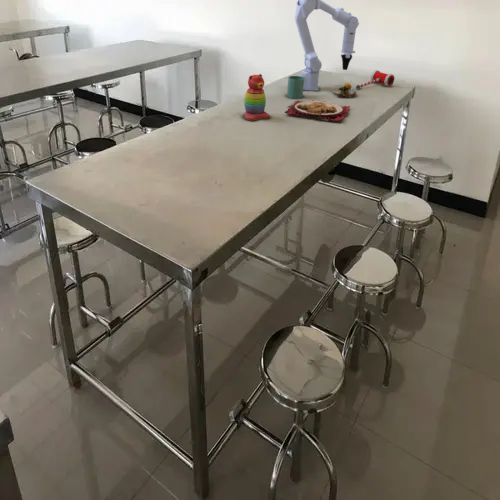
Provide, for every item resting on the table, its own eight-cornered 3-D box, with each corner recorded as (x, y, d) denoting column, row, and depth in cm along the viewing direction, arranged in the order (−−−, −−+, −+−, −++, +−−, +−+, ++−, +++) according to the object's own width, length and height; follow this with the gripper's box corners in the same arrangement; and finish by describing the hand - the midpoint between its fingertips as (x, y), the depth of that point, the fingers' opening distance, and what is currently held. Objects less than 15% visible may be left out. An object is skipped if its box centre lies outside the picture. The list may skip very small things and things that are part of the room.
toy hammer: (365, 92, 253) (367, 79, 249) (348, 86, 261) (350, 74, 257) (393, 85, 265) (395, 73, 261) (376, 81, 273) (378, 69, 269)
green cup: (286, 98, 239) (288, 79, 234) (287, 93, 246) (288, 75, 241) (302, 99, 239) (304, 80, 234) (302, 94, 245) (304, 76, 240)
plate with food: (341, 124, 210) (342, 116, 208) (284, 114, 216) (284, 107, 214) (349, 109, 229) (351, 102, 227) (297, 101, 235) (298, 94, 233)
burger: (340, 90, 254) (341, 75, 250) (360, 94, 248) (362, 79, 244) (327, 94, 247) (329, 79, 242) (348, 99, 240) (350, 84, 236)
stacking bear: (249, 121, 208) (250, 79, 199) (238, 114, 216) (239, 73, 206) (271, 118, 213) (273, 76, 203) (260, 111, 220) (261, 71, 210)
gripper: (357, 44, 240) (353, 73, 247) (355, 39, 252) (351, 66, 259) (343, 44, 240) (339, 72, 248) (341, 38, 252) (338, 66, 260)
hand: (344, 69), depth 254 cm, fingers closed
